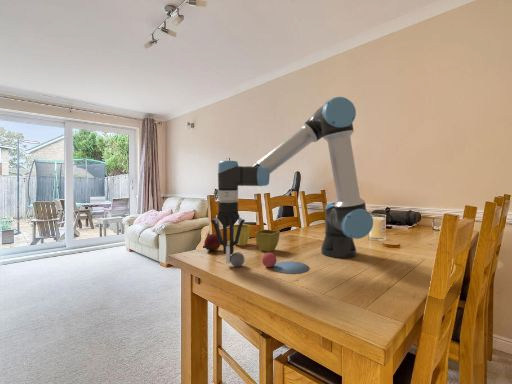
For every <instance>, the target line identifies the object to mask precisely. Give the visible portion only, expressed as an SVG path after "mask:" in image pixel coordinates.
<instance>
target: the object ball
mask: <svg viewBox="0 0 512 384" xmlns="http://www.w3.org/2000/svg"><path fill="white" fill-rule="evenodd" d="M261 262H262V264H263V266H265V267H266V268H272V267H273V266H274V265H275V264H276V263H277V257H276V255H275V254H274V253H273V252H266V253H264V254H263V256H262V259H261Z"/></svg>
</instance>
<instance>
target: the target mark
mask: <svg viewBox="0 0 512 384" xmlns="http://www.w3.org/2000/svg"><path fill="white" fill-rule="evenodd" d="M271 268H272V270H274V271H275V272H278V273H280V274H281V273H282V274H289V275H291V274H293V275H294V274H295V275H296V274H297V275H298V274H303V273H306V272H308V271H309V269H310V267H309V265H308V264H305V263H304V262H300V261H294V260H286V261H284V260H281V261H278V262H277V261H276V264H275V265H274V266H273V267H271Z"/></svg>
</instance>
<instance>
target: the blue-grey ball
mask: <svg viewBox="0 0 512 384" xmlns="http://www.w3.org/2000/svg"><path fill="white" fill-rule="evenodd" d="M230 264H231V265H232V266H233V267H236V268H237V267H238V268H239V267H241V266H243V265H244V264H245V256H244V255H243V253H241V252H239V251H237V252H233V254H231V258H230Z"/></svg>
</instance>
